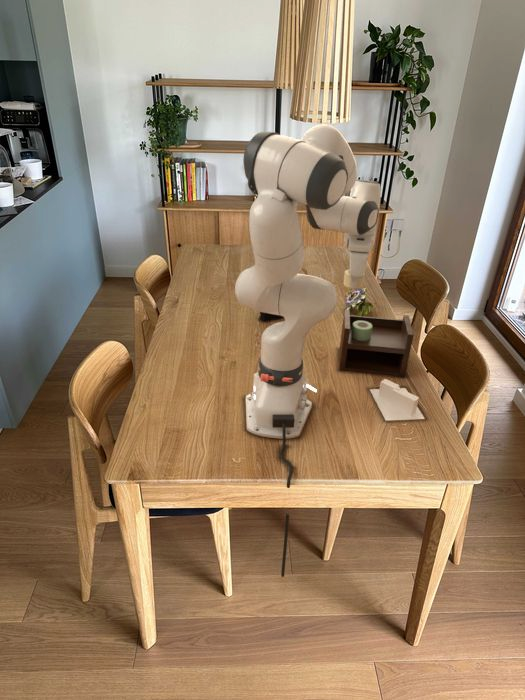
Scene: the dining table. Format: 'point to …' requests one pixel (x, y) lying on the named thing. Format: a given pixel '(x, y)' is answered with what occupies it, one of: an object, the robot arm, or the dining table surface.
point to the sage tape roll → (361, 330)
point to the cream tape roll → (348, 280)
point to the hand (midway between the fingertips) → (353, 281)
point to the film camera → (269, 316)
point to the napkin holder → (396, 402)
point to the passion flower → (358, 301)
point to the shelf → (376, 346)
